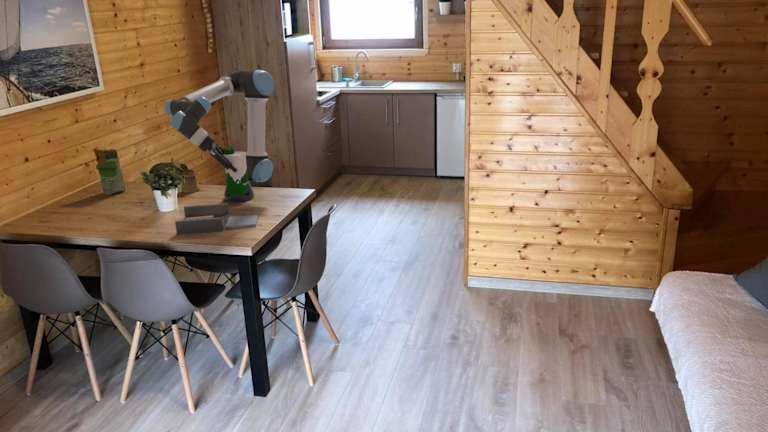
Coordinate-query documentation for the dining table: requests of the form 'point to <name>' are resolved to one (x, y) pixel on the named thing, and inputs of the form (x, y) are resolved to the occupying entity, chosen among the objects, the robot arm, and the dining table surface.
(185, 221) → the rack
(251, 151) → the robot arm
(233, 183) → the soya milk
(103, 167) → the pouch
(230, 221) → the mat
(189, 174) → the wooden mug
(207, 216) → the offcut stack
